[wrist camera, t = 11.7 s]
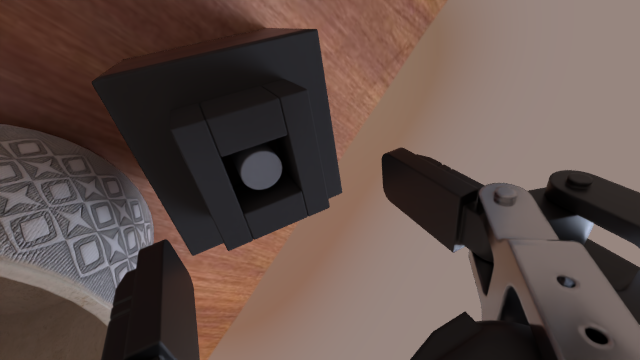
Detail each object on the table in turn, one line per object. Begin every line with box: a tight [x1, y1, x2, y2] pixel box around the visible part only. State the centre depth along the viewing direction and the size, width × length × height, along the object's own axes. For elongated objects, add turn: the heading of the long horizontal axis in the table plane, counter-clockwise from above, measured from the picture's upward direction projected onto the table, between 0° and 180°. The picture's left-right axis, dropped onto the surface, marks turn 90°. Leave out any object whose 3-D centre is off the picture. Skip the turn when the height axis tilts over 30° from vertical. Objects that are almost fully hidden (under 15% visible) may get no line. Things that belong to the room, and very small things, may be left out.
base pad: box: [92, 29, 342, 256], centre depth 15 cm, size 10×10×4 cm
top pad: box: [170, 79, 329, 251], centre depth 14 cm, size 6×6×3 cm
